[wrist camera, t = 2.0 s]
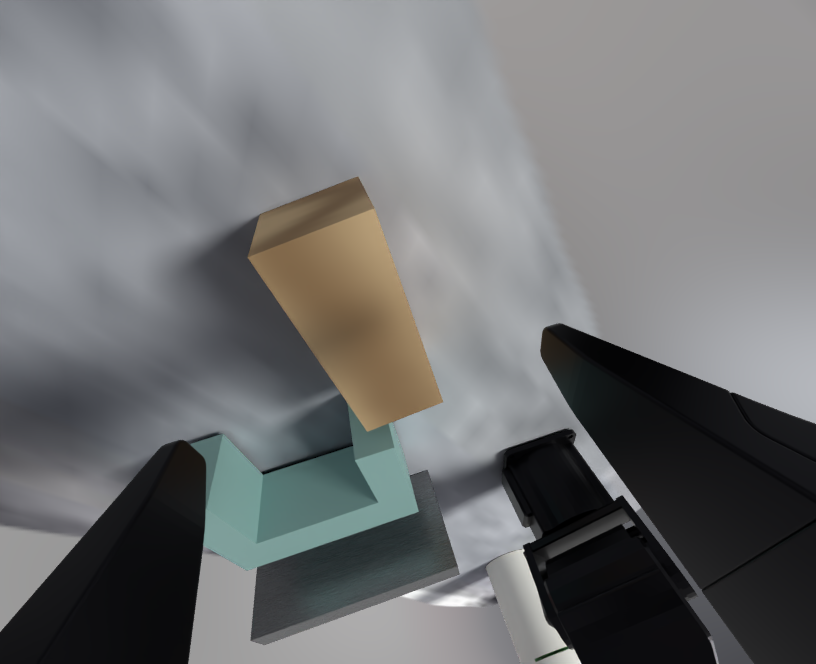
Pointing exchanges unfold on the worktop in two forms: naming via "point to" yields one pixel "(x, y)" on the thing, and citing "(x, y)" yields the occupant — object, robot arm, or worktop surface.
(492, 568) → the cylindrical container
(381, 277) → the oak peg
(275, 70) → the worktop surface
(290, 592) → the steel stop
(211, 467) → the slot block
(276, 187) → the worktop surface
